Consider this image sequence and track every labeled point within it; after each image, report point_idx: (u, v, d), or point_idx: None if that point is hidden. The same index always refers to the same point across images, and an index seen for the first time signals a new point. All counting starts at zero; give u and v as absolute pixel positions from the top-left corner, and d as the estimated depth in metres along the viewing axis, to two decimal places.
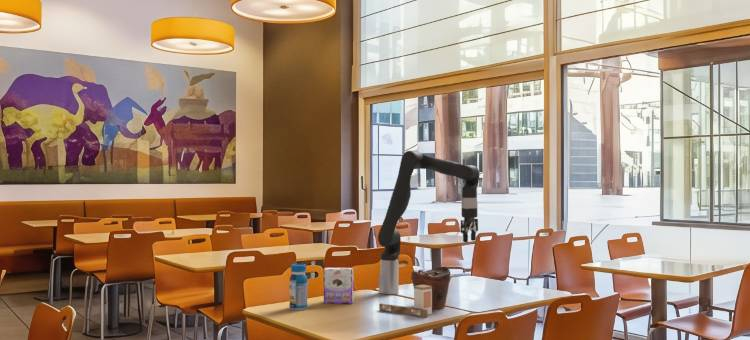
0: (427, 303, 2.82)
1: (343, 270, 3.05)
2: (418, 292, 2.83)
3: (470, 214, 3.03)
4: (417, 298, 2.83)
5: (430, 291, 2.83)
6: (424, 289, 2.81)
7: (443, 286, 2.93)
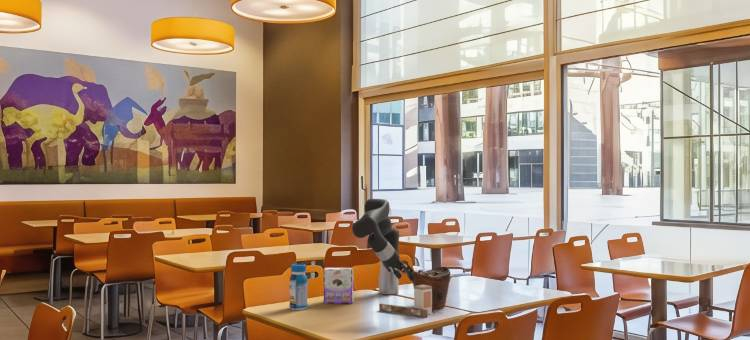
0: (427, 303, 2.82)
1: (343, 270, 3.05)
2: (418, 292, 2.83)
3: None
4: (417, 298, 2.83)
5: (430, 291, 2.83)
6: (424, 289, 2.81)
7: (443, 286, 2.93)
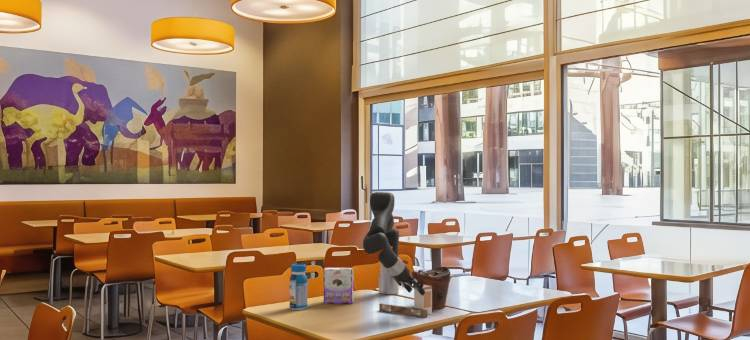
0: (427, 303, 2.82)
1: (343, 270, 3.05)
2: (418, 292, 2.83)
3: None
4: (417, 298, 2.83)
5: (430, 291, 2.83)
6: (424, 289, 2.81)
7: (443, 286, 2.93)
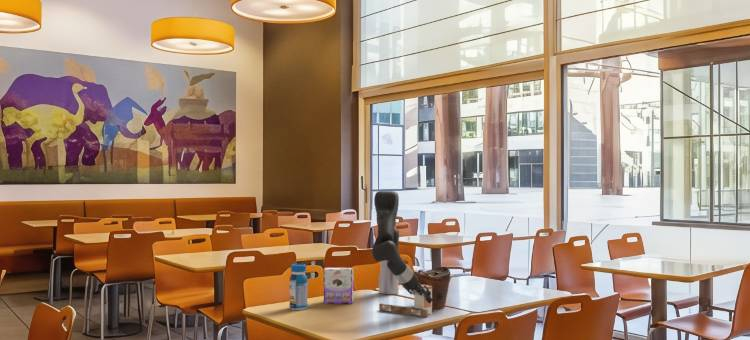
0: (427, 303, 2.82)
1: (343, 270, 3.05)
2: None
3: None
4: (417, 298, 2.83)
5: (430, 291, 2.83)
6: None
7: (443, 286, 2.93)
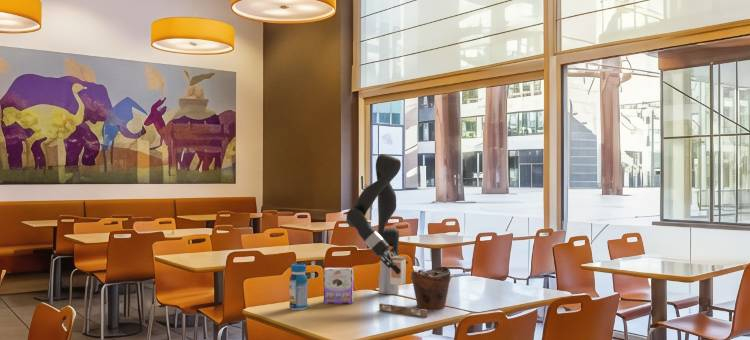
0: (395, 273, 2.90)
1: (343, 270, 3.05)
2: None
3: None
4: None
5: (400, 263, 2.89)
6: None
7: (443, 286, 2.93)
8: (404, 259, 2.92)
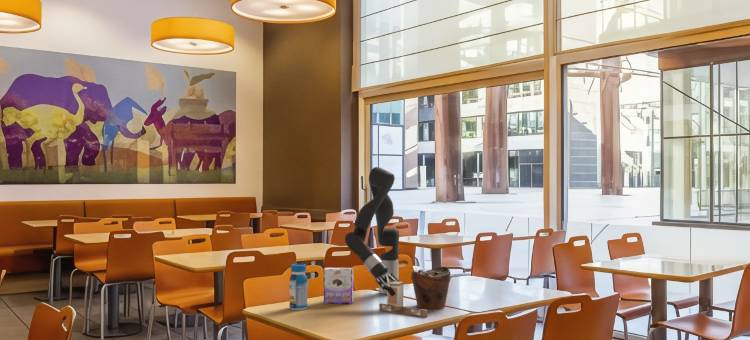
0: (392, 299, 2.91)
1: (343, 270, 3.05)
2: None
3: None
4: None
5: (396, 288, 2.90)
6: None
7: (443, 286, 2.93)
8: (401, 284, 2.93)
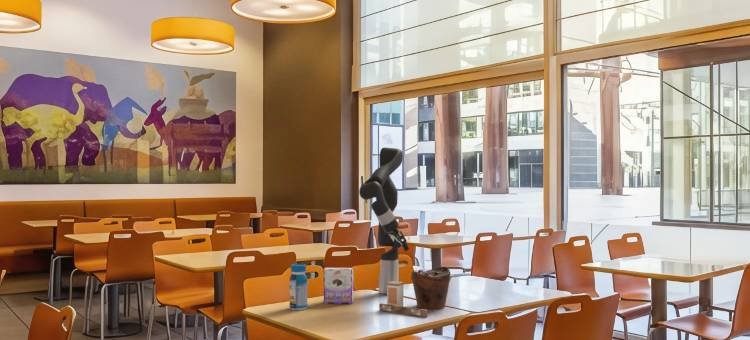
0: (392, 299, 2.91)
1: (343, 270, 3.05)
2: None
3: None
4: None
5: (396, 288, 2.90)
6: (389, 285, 2.92)
7: (443, 286, 2.93)
8: (401, 284, 2.93)
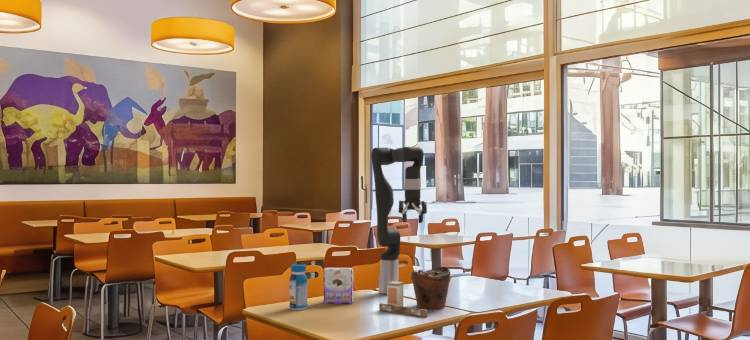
0: (392, 299, 2.91)
1: (343, 270, 3.05)
2: None
3: None
4: None
5: (396, 288, 2.90)
6: (389, 285, 2.92)
7: (443, 286, 2.93)
8: (401, 284, 2.93)
